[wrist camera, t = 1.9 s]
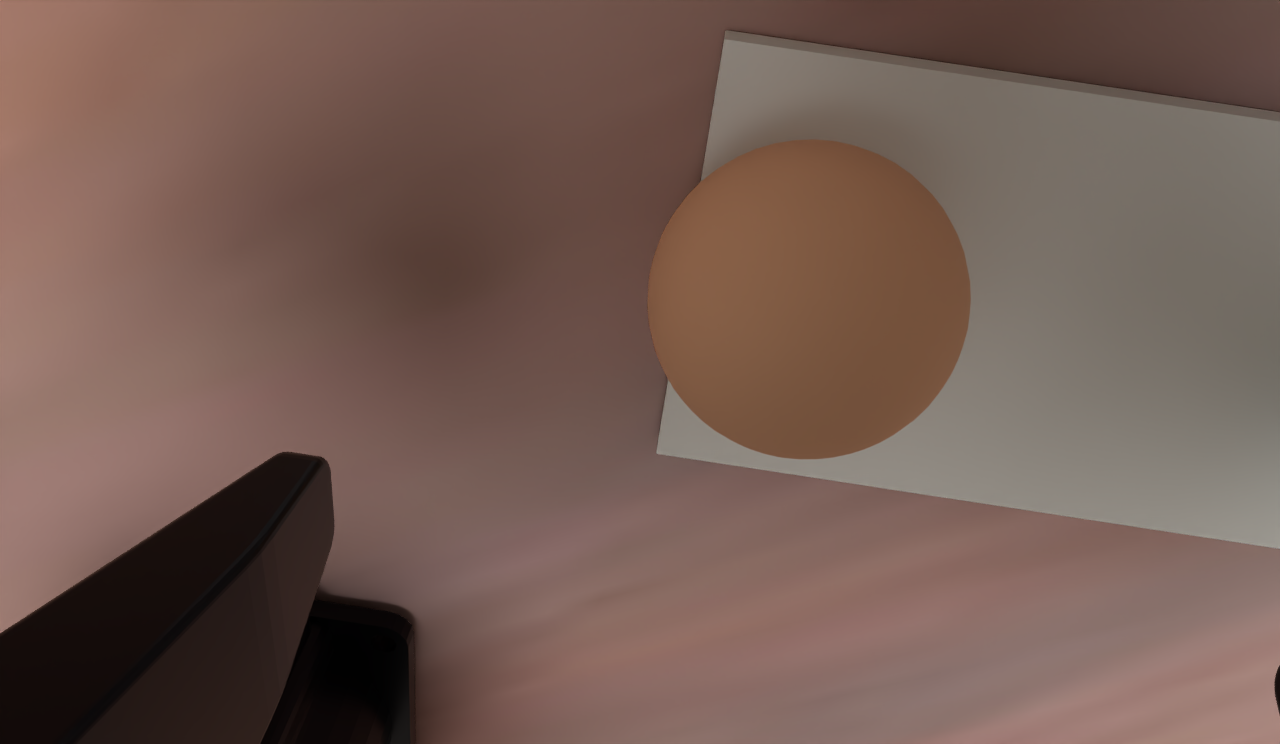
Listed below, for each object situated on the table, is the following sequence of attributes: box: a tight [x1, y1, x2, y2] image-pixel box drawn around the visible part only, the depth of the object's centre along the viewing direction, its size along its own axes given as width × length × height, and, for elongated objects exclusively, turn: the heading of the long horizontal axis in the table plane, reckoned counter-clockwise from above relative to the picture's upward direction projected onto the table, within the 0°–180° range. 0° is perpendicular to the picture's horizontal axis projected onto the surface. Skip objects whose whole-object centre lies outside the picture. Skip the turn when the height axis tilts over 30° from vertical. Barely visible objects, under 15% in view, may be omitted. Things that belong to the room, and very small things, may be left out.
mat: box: [656, 30, 1280, 549], centre depth 15 cm, size 7×15×1 cm, turn 83°
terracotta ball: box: [647, 139, 971, 459], centre depth 13 cm, size 4×4×4 cm
